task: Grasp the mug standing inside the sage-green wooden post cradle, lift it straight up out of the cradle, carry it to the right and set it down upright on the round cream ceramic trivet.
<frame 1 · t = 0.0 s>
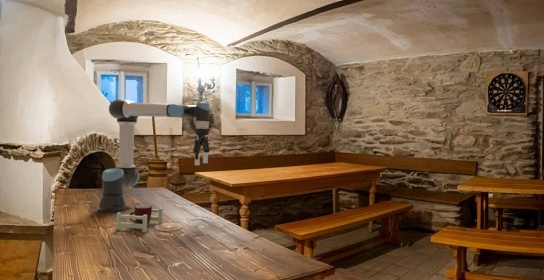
hand: (201, 164, 243), 28 cm above the table, fingers open, 13 cm apart
mug: (140, 227, 203), on the table
trivet: (168, 227, 202), on the table
cradle: (140, 226, 203), on the table
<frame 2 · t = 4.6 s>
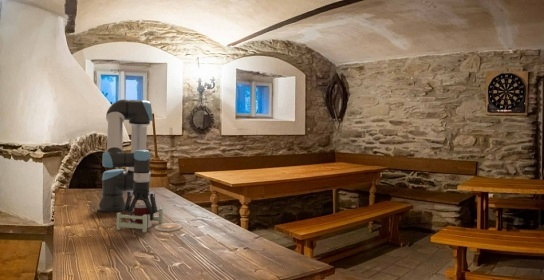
hand: (140, 226, 203), 0 cm above the table, fingers closed on mug, 9 cm apart
mug: (140, 226, 203), on the table, touching gripper
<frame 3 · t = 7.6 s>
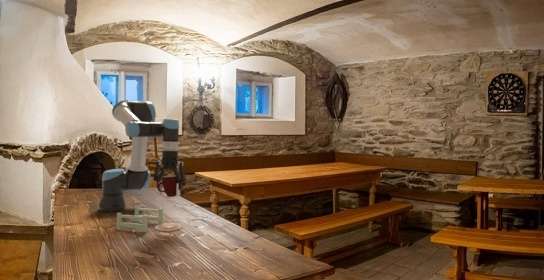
hand: (169, 195, 202), 16 cm above the table, fingers closed on mug, 9 cm apart
mug: (169, 197, 202), point 15 cm above the table, touching gripper
when the fingers open (2 cm above the table, at t = 10.5 s): mug stays where it is, resting on trivet.
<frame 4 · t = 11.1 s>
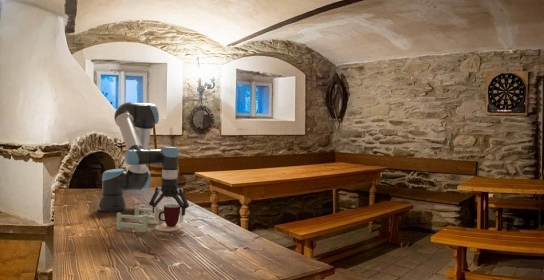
hand: (168, 220, 202), 4 cm above the table, fingers open, 13 cm apart
mug: (168, 226, 202), point 1 cm above the table, touching trivet
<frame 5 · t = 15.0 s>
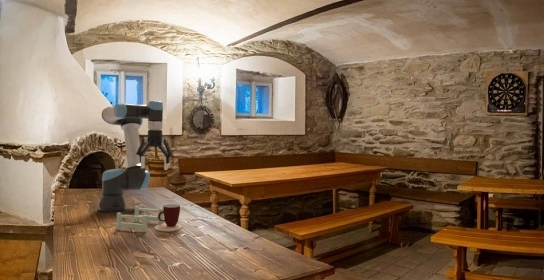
hand: (154, 168, 221), 27 cm above the table, fingers open, 13 cm apart
nothing on the table moved.
at the end: mug 0.4 cm from the trivet (horizontally); mug tilted 0°; mug point 0.8 cm above the table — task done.
